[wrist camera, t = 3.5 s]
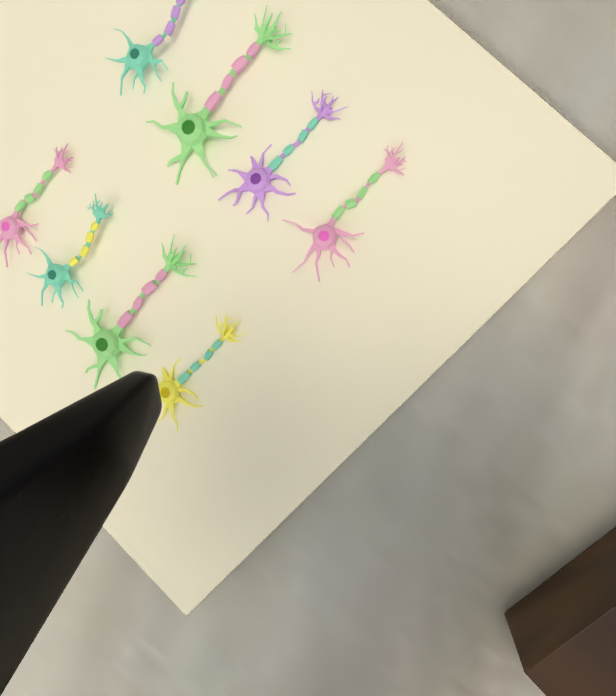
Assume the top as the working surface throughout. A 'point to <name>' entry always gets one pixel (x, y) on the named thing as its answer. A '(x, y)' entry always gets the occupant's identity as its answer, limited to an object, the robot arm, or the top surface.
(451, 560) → the top surface
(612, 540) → the block
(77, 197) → the printed paper
